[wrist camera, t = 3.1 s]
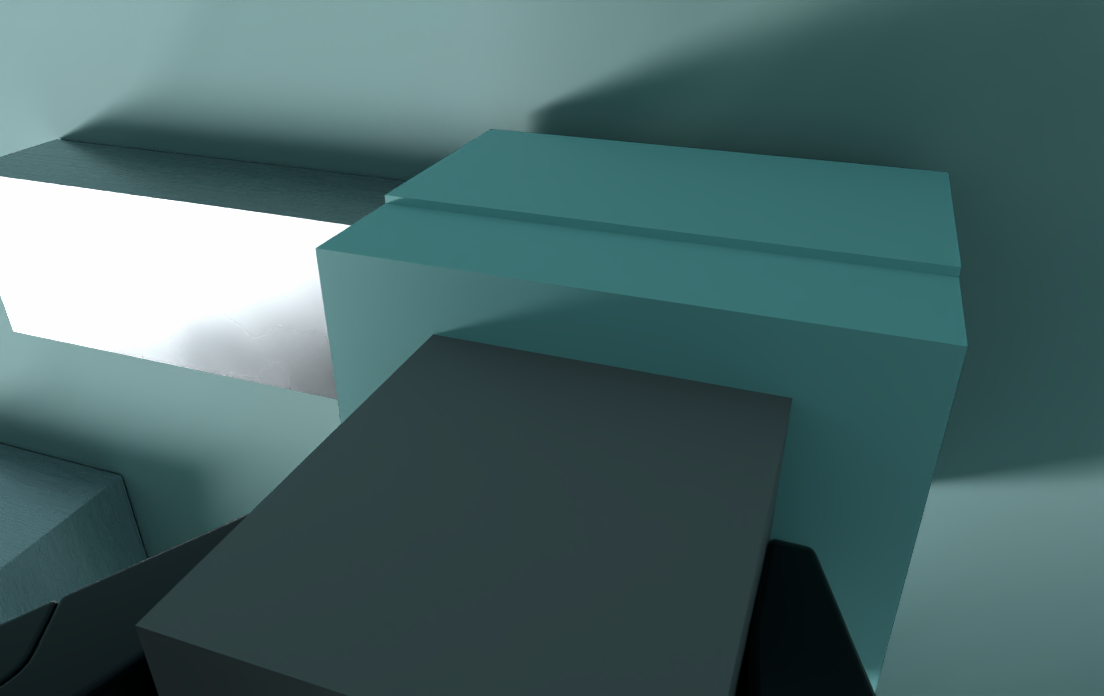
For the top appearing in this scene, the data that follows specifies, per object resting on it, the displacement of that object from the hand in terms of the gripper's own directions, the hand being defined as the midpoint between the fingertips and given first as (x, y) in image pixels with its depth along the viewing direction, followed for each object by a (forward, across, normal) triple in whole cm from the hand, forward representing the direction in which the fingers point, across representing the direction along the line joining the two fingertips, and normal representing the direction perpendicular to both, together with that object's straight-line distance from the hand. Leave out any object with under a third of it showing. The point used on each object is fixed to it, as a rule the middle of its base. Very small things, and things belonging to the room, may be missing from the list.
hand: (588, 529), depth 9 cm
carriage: (+5, 0, 0) cm, 5 cm away
